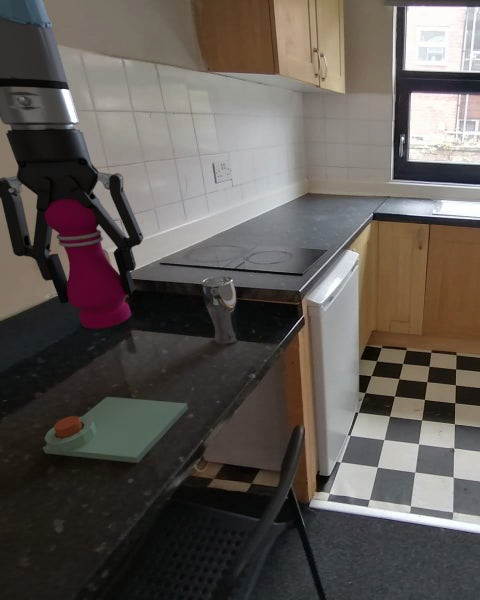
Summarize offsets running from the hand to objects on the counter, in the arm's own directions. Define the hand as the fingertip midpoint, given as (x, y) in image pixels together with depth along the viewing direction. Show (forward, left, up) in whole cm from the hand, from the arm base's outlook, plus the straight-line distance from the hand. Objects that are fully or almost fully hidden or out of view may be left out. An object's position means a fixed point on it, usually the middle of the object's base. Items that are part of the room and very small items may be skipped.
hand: (99, 295), depth 60 cm
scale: (-3, -1, -24) cm, 25 cm away
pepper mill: (0, 0, -4) cm, 4 cm away
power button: (-8, -6, -22) cm, 24 cm away
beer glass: (-1, +31, -25) cm, 39 cm away
